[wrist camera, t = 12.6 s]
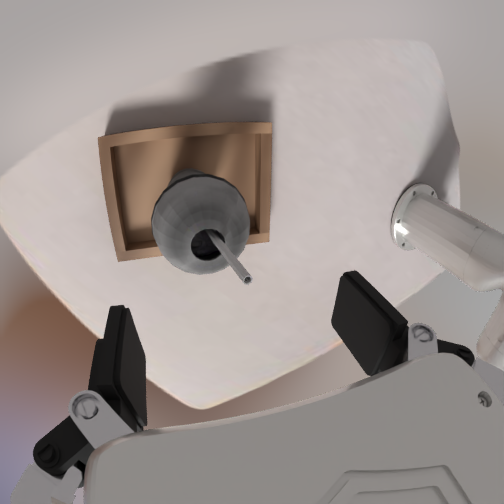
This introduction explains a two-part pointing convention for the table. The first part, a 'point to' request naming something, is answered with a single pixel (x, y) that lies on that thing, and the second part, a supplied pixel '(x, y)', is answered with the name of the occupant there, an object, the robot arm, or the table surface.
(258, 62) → the table surface
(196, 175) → the beverage cup
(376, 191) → the table surface
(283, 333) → the table surface
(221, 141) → the walnut tray
